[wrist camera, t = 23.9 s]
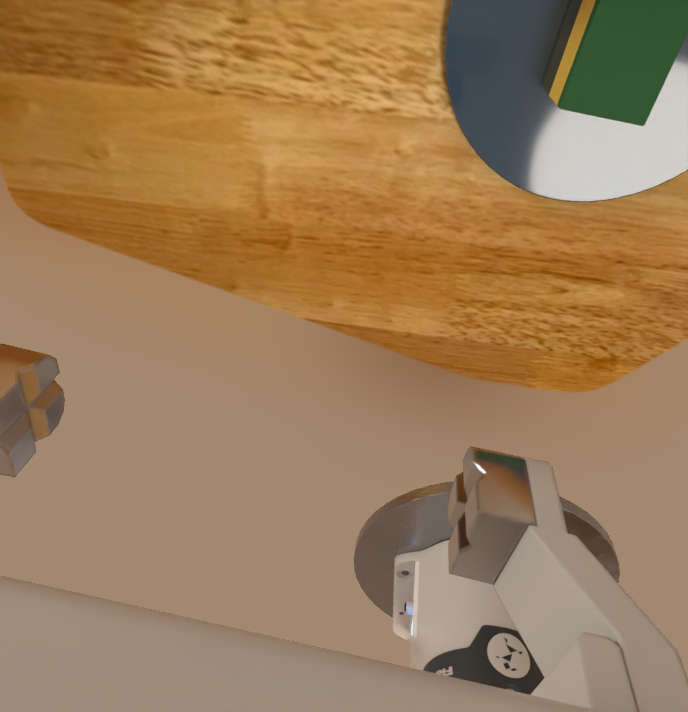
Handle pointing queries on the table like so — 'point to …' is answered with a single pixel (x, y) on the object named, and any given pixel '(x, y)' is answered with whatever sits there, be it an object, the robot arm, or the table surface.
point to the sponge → (619, 57)
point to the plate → (553, 107)
